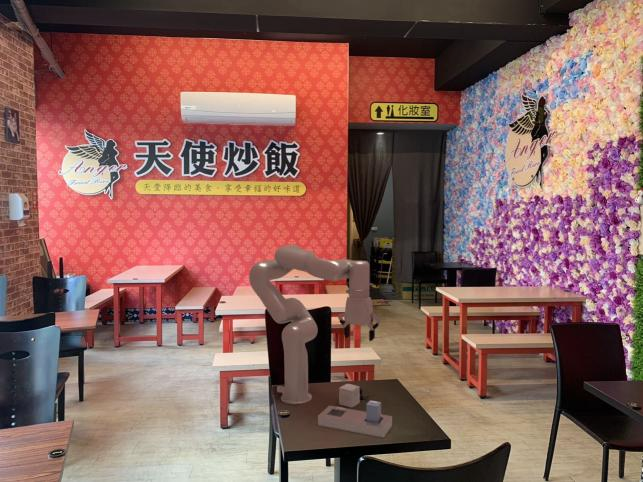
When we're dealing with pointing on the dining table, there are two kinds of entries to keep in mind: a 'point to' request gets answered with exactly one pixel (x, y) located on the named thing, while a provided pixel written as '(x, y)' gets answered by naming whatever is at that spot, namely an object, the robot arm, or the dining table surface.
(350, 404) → the product box
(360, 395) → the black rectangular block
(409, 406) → the dining table surface
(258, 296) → the robot arm
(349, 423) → the panel
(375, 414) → the plug
